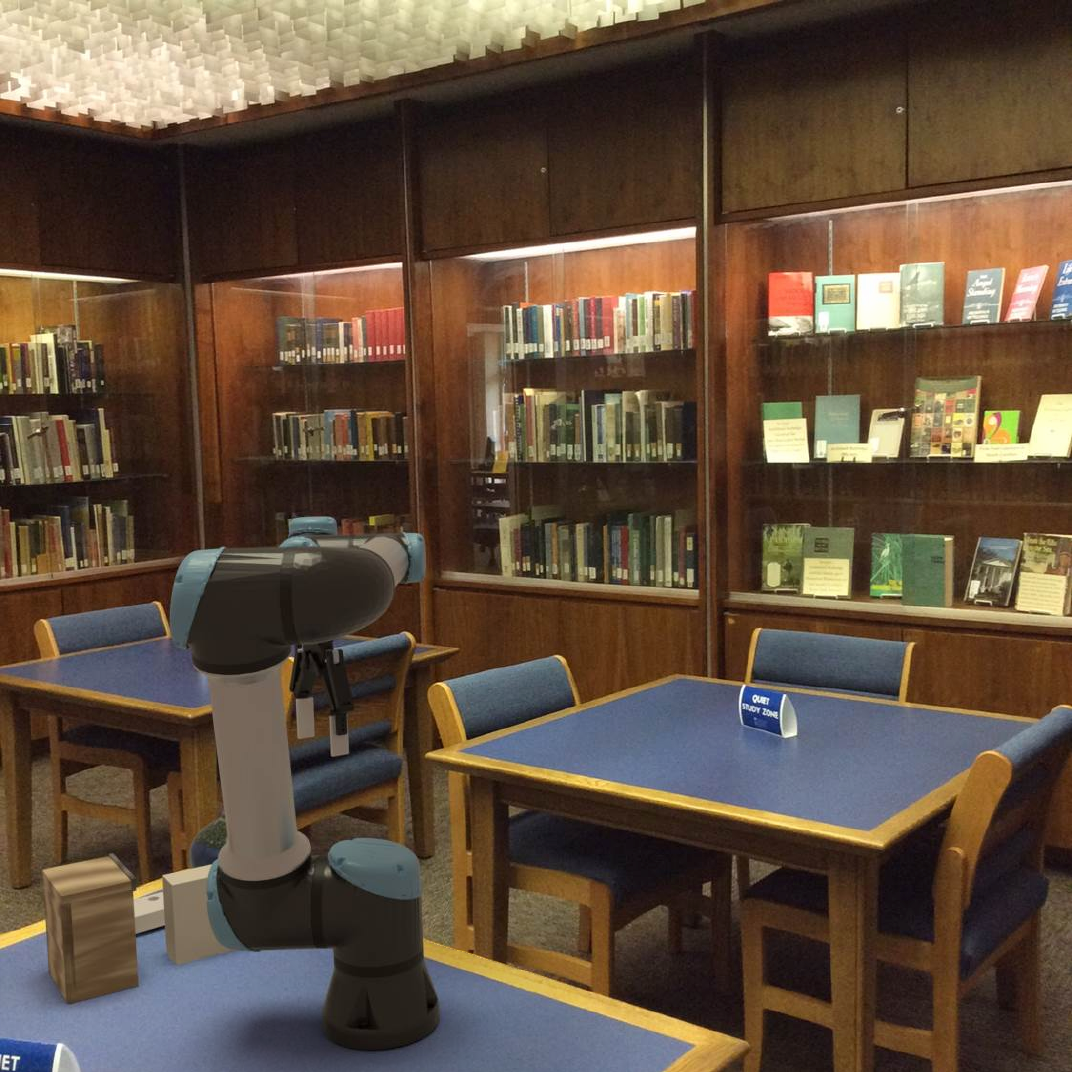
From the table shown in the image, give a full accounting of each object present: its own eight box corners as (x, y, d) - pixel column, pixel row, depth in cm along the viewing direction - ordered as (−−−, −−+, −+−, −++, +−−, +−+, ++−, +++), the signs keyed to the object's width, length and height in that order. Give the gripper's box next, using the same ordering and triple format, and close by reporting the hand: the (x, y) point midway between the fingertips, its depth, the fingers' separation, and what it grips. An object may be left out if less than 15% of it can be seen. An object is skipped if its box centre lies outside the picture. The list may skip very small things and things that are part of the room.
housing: (142, 985, 174) (135, 878, 172) (68, 1004, 168) (61, 894, 167) (118, 954, 184) (112, 853, 183) (48, 971, 179) (41, 867, 177)
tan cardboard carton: (242, 948, 185) (239, 870, 184) (176, 965, 180) (172, 885, 179) (231, 936, 190) (227, 860, 188) (166, 953, 184) (162, 875, 183)
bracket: (101, 949, 187) (99, 901, 186) (84, 935, 192) (81, 888, 191) (183, 925, 195) (180, 879, 194) (164, 912, 200) (161, 867, 200)
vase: (257, 864, 221) (254, 791, 220) (300, 887, 209) (296, 810, 208) (175, 886, 211) (171, 810, 210) (215, 912, 199) (211, 832, 198)
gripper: (372, 621, 187) (377, 758, 189) (308, 603, 208) (314, 727, 210) (326, 626, 183) (332, 766, 185) (266, 608, 204) (271, 734, 206)
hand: (322, 746), depth 197 cm, fingers open, 13 cm apart
